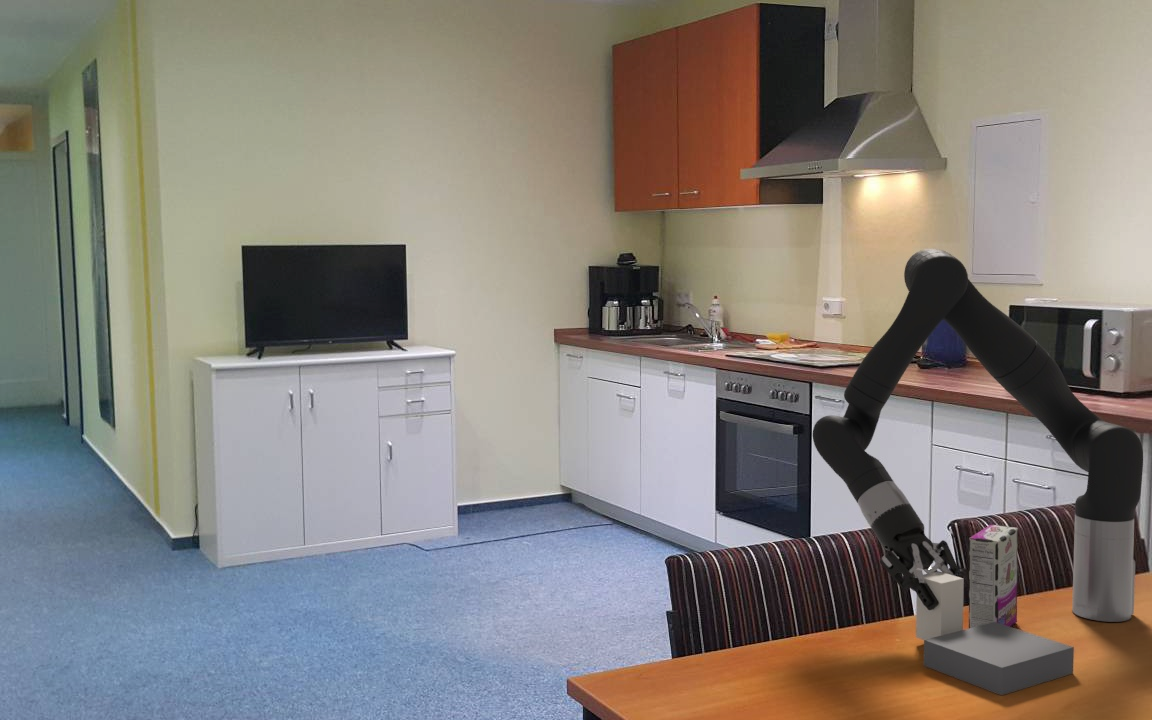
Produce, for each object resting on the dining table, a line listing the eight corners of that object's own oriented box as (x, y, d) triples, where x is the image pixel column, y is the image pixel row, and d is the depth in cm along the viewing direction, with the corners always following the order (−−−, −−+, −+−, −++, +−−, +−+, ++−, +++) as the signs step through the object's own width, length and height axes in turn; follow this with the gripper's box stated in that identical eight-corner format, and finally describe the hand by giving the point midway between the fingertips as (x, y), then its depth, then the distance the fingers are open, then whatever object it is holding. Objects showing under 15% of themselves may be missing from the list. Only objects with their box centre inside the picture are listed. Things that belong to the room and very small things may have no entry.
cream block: (937, 631, 182) (938, 571, 181) (962, 640, 178) (963, 578, 177) (916, 637, 179) (916, 576, 179) (940, 646, 175) (941, 583, 174)
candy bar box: (987, 617, 193) (989, 523, 191) (1017, 623, 190) (1019, 527, 188) (965, 635, 184) (967, 536, 182) (997, 641, 181) (999, 540, 179)
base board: (994, 646, 178) (994, 621, 178) (1073, 673, 166) (1073, 647, 166) (923, 665, 170) (924, 639, 169) (1001, 695, 158) (1001, 667, 157)
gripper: (870, 507, 180) (928, 599, 171) (933, 497, 187) (991, 584, 178) (846, 533, 185) (901, 624, 176) (908, 522, 192) (964, 609, 183)
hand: (946, 604), depth 177 cm, fingers closed on cream block, 5 cm apart
